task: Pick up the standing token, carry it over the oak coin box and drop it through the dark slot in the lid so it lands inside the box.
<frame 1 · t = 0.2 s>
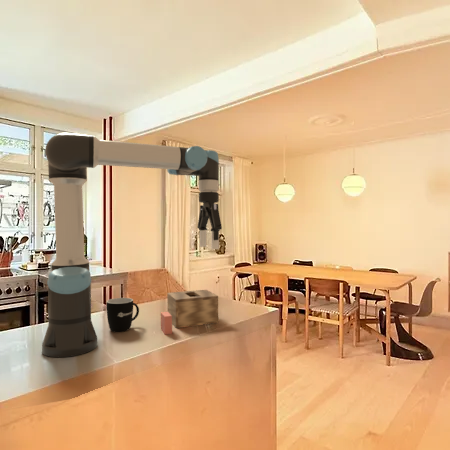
hand: (208, 247, 136), 27 cm above the countertop, fingers open, 13 cm apart
mug: (124, 329, 126), on the countertop
token: (166, 331, 122), on the countertop
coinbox: (192, 320, 135), on the countertop
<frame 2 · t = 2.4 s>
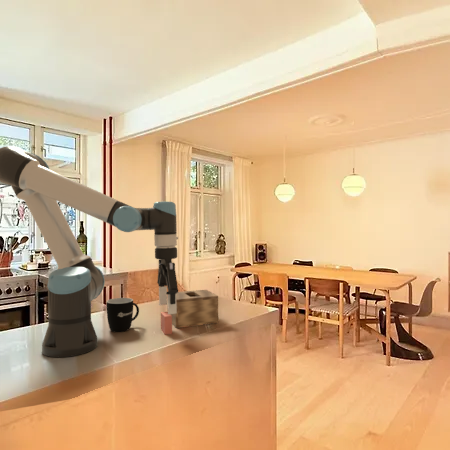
hand: (167, 309, 122), 8 cm above the countertop, fingers open, 13 cm apart
nothing on the countertop moved.
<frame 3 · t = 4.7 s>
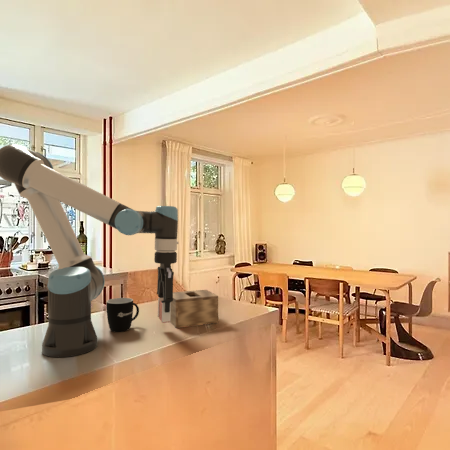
hand: (163, 318, 122), 4 cm above the countertop, fingers closed on token, 6 cm apart
token: (164, 320, 122), point 4 cm above the countertop, touching gripper
everything else where it was.
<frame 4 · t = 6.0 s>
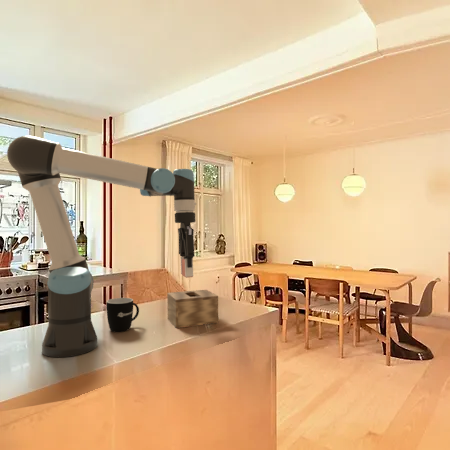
hand: (187, 275, 131), 18 cm above the countertop, fingers closed on token, 6 cm apart
token: (187, 276, 131), point 18 cm above the countertop, touching gripper
everything else where it was.
when the fingers open (11 cm above the countertop, at t = 7.4 s): token drops 10 cm, resting on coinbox.
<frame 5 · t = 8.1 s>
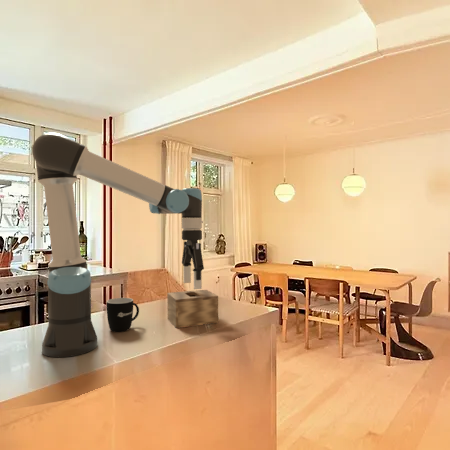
hand: (192, 285, 135), 13 cm above the countertop, fingers open, 13 cm apart
token: (192, 318, 135), point 1 cm above the countertop, touching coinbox
everything else where it was.
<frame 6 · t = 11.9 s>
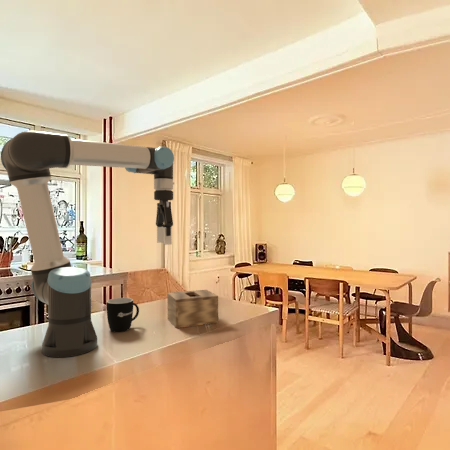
hand: (164, 243, 143), 29 cm above the countertop, fingers open, 13 cm apart
nothing on the countertop moved.
at the end: token inside the target area on the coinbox (0.3 cm from its centre), point 0.8 cm above the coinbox's base; the gripper is holding nothing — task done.
